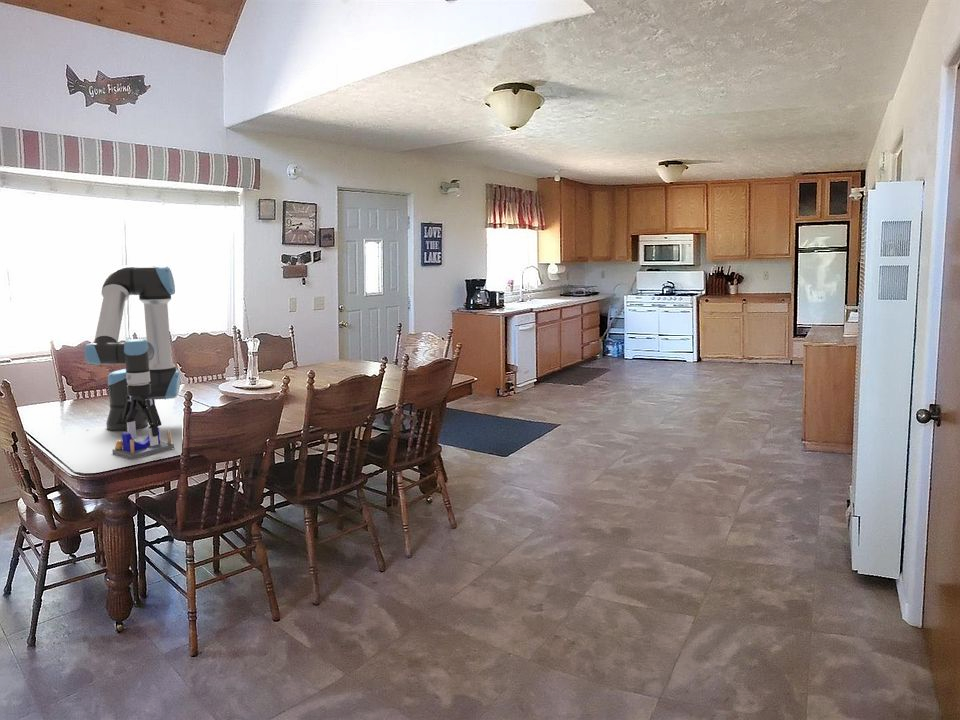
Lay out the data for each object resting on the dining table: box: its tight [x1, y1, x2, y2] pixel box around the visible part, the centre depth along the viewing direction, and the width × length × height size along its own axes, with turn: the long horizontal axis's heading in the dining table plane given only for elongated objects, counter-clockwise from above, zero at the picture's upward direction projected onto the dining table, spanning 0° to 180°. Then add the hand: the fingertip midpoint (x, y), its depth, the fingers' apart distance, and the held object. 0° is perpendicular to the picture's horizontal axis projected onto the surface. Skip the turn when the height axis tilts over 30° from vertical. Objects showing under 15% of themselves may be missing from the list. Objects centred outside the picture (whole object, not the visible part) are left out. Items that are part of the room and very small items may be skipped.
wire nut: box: [114, 439, 123, 450], centre depth 251 cm, size 2×2×3 cm
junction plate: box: [111, 430, 175, 460], centre depth 254 cm, size 12×16×6 cm
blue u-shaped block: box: [121, 426, 161, 452], centre depth 253 cm, size 12×4×6 cm, turn 145°
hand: (143, 442), depth 254 cm, fingers open, 13 cm apart
